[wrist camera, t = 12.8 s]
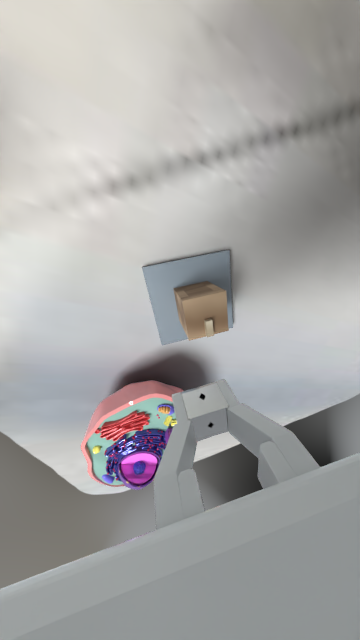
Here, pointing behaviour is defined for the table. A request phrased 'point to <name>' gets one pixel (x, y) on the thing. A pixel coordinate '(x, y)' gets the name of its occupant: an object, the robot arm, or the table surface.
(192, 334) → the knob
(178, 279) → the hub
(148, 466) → the cell model
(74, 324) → the table surface
